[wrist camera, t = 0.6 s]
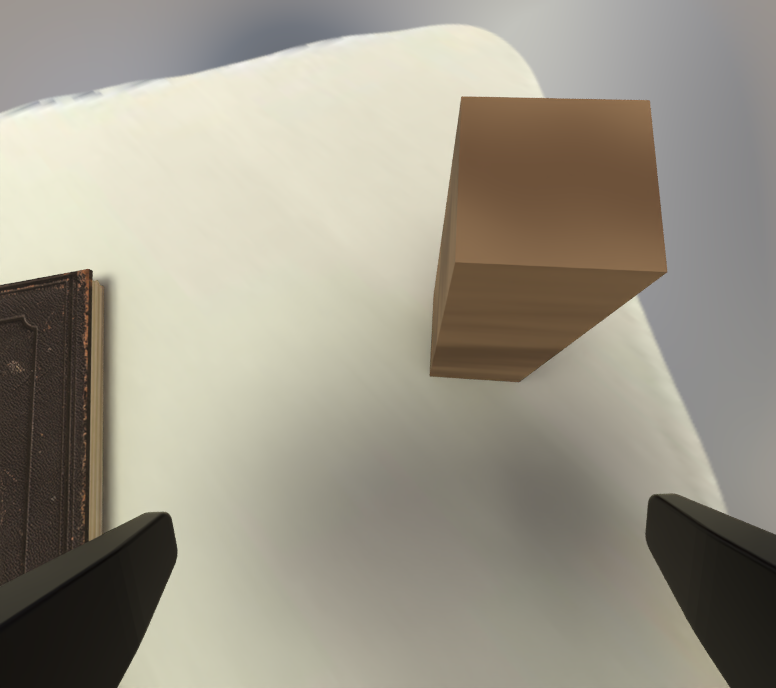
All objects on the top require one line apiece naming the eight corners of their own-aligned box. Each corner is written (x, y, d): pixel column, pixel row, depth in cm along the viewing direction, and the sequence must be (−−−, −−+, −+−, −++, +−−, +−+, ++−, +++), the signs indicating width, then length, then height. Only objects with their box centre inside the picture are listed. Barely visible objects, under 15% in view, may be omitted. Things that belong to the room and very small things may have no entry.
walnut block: (519, 382, 22) (667, 271, 9) (429, 376, 22) (455, 262, 10) (518, 298, 23) (649, 100, 10) (433, 294, 23) (461, 96, 11)
